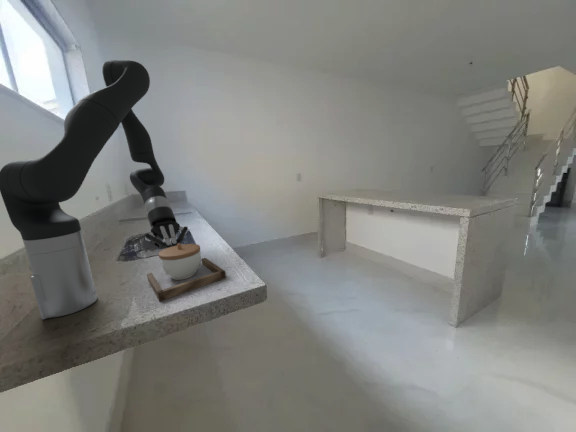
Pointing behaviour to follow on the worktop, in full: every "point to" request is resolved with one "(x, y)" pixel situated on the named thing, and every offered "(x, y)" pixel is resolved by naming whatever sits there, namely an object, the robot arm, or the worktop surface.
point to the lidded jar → (180, 260)
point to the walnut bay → (187, 286)
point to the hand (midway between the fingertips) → (175, 256)
